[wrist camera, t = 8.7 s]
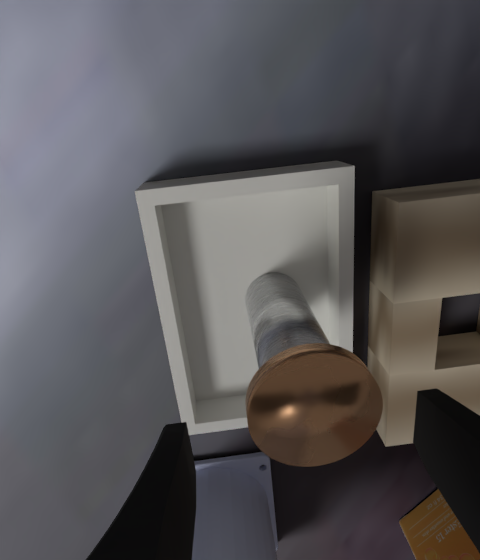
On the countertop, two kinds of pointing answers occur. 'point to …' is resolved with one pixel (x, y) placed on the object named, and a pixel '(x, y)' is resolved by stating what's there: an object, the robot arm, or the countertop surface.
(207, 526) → the robot arm
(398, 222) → the hitch block
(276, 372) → the pin
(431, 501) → the small box
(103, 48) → the countertop surface
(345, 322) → the tray
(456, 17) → the countertop surface
